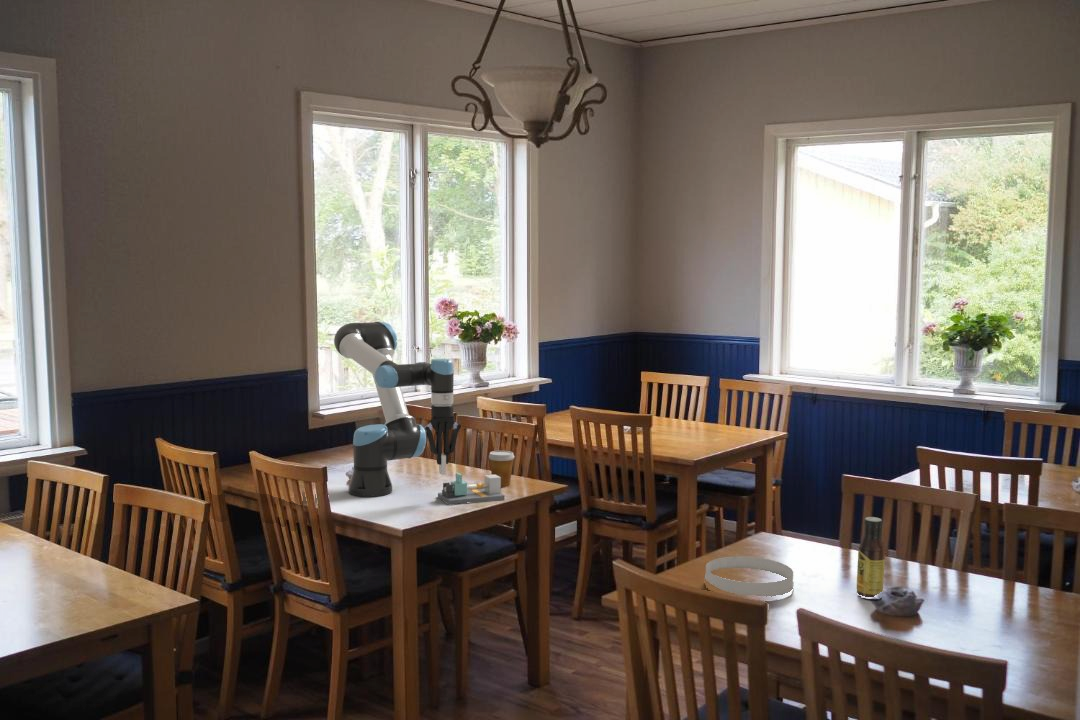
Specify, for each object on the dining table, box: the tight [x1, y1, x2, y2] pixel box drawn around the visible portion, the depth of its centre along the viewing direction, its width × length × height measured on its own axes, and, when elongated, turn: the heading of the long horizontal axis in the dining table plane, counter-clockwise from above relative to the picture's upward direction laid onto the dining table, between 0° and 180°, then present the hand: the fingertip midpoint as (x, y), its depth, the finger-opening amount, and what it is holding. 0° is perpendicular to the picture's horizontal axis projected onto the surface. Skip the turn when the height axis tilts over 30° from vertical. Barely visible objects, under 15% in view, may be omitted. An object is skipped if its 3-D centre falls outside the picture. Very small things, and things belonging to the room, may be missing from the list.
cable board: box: [437, 474, 505, 505], centre depth 341 cm, size 12×20×7 cm, turn 115°
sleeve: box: [450, 472, 468, 496], centre depth 338 cm, size 4×4×7 cm
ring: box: [704, 555, 795, 597], centre depth 250 cm, size 22×22×5 cm
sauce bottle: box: [856, 516, 886, 597], centre depth 242 cm, size 6×6×20 cm
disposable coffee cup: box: [488, 450, 515, 488], centre depth 361 cm, size 10×10×12 cm
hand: (442, 473), depth 335 cm, fingers closed
